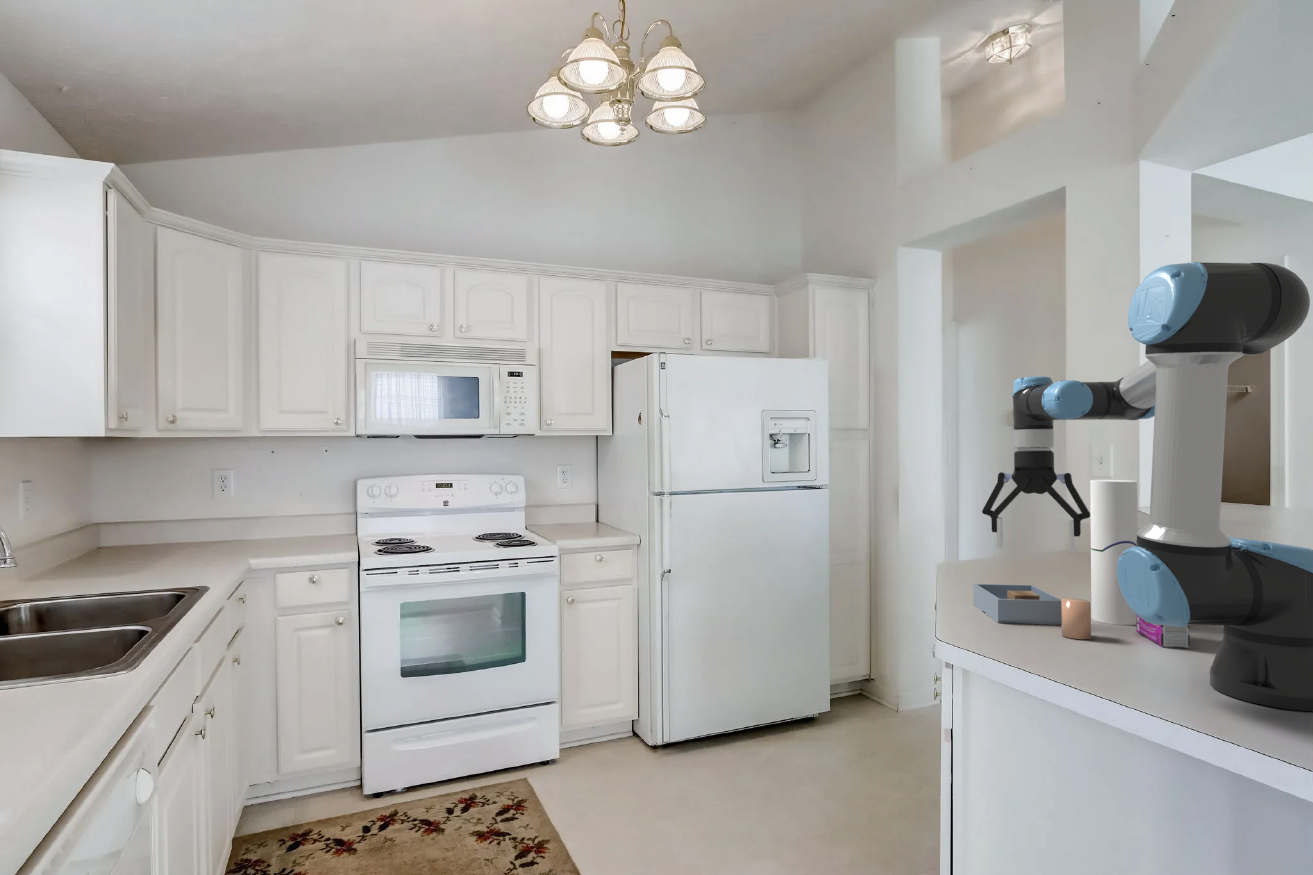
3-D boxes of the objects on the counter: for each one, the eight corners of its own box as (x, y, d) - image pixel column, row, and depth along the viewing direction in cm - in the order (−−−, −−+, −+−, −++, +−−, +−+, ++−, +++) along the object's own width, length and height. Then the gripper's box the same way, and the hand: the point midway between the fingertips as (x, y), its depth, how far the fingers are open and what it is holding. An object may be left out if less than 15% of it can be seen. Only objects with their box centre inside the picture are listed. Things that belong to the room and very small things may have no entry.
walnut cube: (1031, 613, 159) (1031, 591, 159) (1039, 619, 154) (1039, 595, 154) (1007, 613, 159) (1007, 590, 160) (1014, 618, 155) (1014, 595, 155)
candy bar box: (1134, 632, 145) (1133, 550, 145) (1161, 633, 144) (1161, 551, 144) (1161, 648, 134) (1160, 559, 134) (1191, 649, 133) (1190, 560, 133)
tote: (1064, 624, 151) (1064, 601, 151) (998, 623, 153) (998, 599, 153) (1032, 606, 168) (1032, 585, 168) (973, 605, 170) (973, 583, 170)
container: (1148, 625, 151) (1146, 481, 151) (1106, 625, 151) (1105, 481, 151) (1122, 615, 159) (1121, 479, 160) (1083, 615, 160) (1082, 479, 160)
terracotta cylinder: (1096, 639, 140) (1096, 602, 140) (1071, 639, 140) (1071, 602, 140) (1080, 633, 145) (1080, 598, 145) (1056, 633, 145) (1056, 598, 145)
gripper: (1102, 449, 150) (1104, 552, 149) (973, 450, 163) (974, 544, 163) (1102, 449, 144) (1104, 556, 143) (967, 450, 157) (969, 548, 156)
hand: (1035, 550), depth 153 cm, fingers open, 13 cm apart
